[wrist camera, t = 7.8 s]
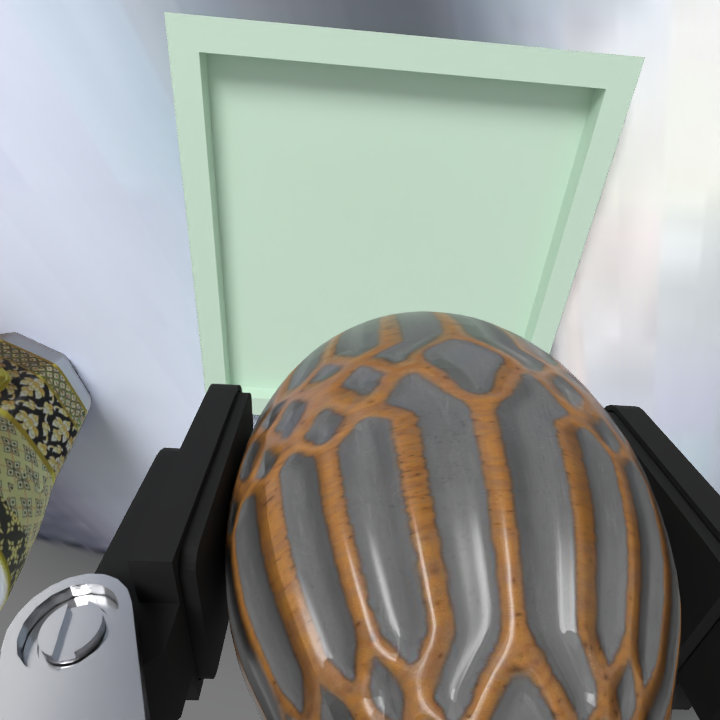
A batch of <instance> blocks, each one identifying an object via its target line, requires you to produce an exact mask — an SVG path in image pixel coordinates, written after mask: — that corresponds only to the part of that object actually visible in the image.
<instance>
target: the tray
mask: <svg viewBox="0 0 720 720" xmlns="http://www.w3.org/2000/svg"><path fill="white" fill-rule="evenodd" d="M164 14H165V23H166V32H167V41H168V51H169V60H170V69H171V78H172V87H173V97H174V106H175V115H176V124H177V133H178V143H179V152H180V161H181V170H182V179H183V189H184V198H185V207H186V216H187V226H188V235H189V244H190V253H191V262H192V272H193V281H194V290H195V299H196V308H197V318H198V327H199V336H200V345H201V354H202V364H203V373H204V382H205V391H206V393H207V390H208V388H209V386H210V385H211V384H230V385H240V386H241V388H242V392H244V393H251V397H252V414H253V415H261V413H262V411H263V410H264V408H265V406H266V405H267V403H268V402H269V400H270V399H271V397H272V396H273V395H274V393H275V392H276V390H277V389H278V387H279V386H280V385H281V383H282V382H283V381H284V380H285V379H286V377H287V376H288V375H289V374H290V373H291V372H292V371H293V370H294V369H295V368H296V367H297V366H298V365H299V364H300V363H301V362H302V361H303V360H304V359H305V358H306V357H307V356H308V355H309V354H310V353H312V352H313V351H314V350H315V349H317V348H318V347H319V346H321V345H322V344H324V343H325V342H327V341H328V340H330V339H331V338H333V337H335V336H336V335H338V334H340V333H342V332H344V331H346V330H348V329H350V328H352V327H354V326H356V325H358V324H361V323H364V322H366V321H369V320H372V319H375V318H379V317H382V316H387V315H392V314H398V313H404V312H417V311H431V312H444V313H452V314H459V315H464V316H469V317H473V318H477V319H480V320H483V321H486V322H489V323H492V324H494V325H497V326H499V327H501V328H504V329H506V330H509V331H511V332H513V333H515V334H517V335H519V336H521V337H523V338H524V339H526V340H528V341H529V342H531V343H533V344H534V345H536V346H537V347H539V348H540V349H542V350H543V351H545V352H546V353H548V354H550V351H551V347H552V344H553V341H554V338H555V335H556V332H557V329H558V326H559V323H560V320H561V316H562V313H563V310H564V307H565V304H566V301H567V298H568V295H569V292H570V288H571V285H572V282H573V279H574V276H575V273H576V270H577V267H578V264H579V261H580V257H581V254H582V251H583V248H584V245H585V242H586V239H587V236H588V233H589V230H590V226H591V223H592V220H593V217H594V214H595V211H596V208H597V205H598V202H599V199H600V195H601V192H602V189H603V186H604V183H605V180H606V177H607V174H608V171H609V167H610V164H611V161H612V158H613V155H614V152H615V149H616V146H617V143H618V140H619V136H620V133H621V130H622V127H623V124H624V121H625V118H626V115H627V112H628V109H629V105H630V102H631V99H632V96H633V93H634V90H635V87H636V84H637V81H638V78H639V74H640V71H641V68H642V65H643V62H644V59H645V57H635V56H624V55H613V54H603V53H592V52H582V51H571V50H560V49H550V48H539V47H529V46H518V45H507V44H497V43H486V42H476V41H465V40H454V39H444V38H433V37H422V36H412V35H401V34H391V33H380V32H369V31H359V30H348V29H338V28H327V27H316V26H306V25H295V24H285V23H274V22H263V21H253V20H242V19H231V18H221V17H210V16H200V15H189V14H178V13H168V12H164Z"/></svg>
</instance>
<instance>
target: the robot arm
mask: <svg viewBox="0 0 720 720" xmlns="http://www.w3.org/2000/svg"><path fill="white" fill-rule="evenodd" d="M604 409H605V410H606V412H607V413H608V414H609V415H610V417H611V418H612V420H613V421H614V422H615V424H616V425H617V427H618V428H619V429H620V431H621V432H622V434H623V435H624V437H625V438H626V439H627V441H628V442H629V444H630V446H631V448H632V449H633V451H634V453H635V455H636V457H637V459H638V461H639V462H640V464H641V466H642V468H643V470H644V472H645V474H646V476H647V479H648V481H649V484H650V486H651V489H652V491H653V494H654V496H655V499H656V501H657V504H658V506H659V509H660V512H661V515H662V518H663V521H664V525H665V528H666V531H667V534H668V538H669V542H670V546H671V550H672V554H673V559H674V563H675V567H676V571H677V578H678V586H679V594H680V602H681V646H680V655H679V665H678V674H677V681H676V688H675V695H674V703H673V709H685V710H689V709H690V708H691V706H692V707H693V708H694V710H695V712H696V714H697V716H698V717H699V719H700V720H720V495H719V494H718V493H717V492H716V491H715V490H714V489H713V487H712V486H711V485H710V484H709V483H708V482H707V481H706V480H705V479H704V477H703V476H702V475H701V474H700V473H699V472H698V471H697V470H696V469H695V467H694V466H693V465H692V464H691V463H690V462H689V461H688V460H687V459H686V457H685V456H684V455H683V454H682V453H681V452H680V451H679V450H678V448H677V447H676V446H675V445H674V444H673V443H672V442H671V441H670V440H669V438H668V437H667V436H666V435H665V434H664V433H663V432H662V431H661V430H660V428H659V427H658V426H657V425H656V424H655V423H654V422H653V421H652V420H651V418H650V417H649V416H648V415H647V414H646V413H645V412H644V411H643V410H642V409H641V408H640V407H636V406H619V405H609V406H606V407H605V408H604ZM252 432H253V415H252V397H251V393H244V392H242V388H241V386H240V385H230V384H211V385H210V386H209V388H208V390H207V393H206V395H205V397H204V399H203V401H202V403H201V405H200V407H199V410H198V412H197V414H196V416H195V418H194V420H193V422H192V425H191V427H190V429H189V431H188V433H187V435H186V437H185V439H184V442H183V444H182V446H181V448H180V449H178V448H163V449H162V450H160V452H159V453H158V455H157V456H156V458H155V460H154V462H153V463H152V465H151V467H150V469H149V471H148V473H147V475H146V477H145V479H144V481H143V483H142V484H141V486H140V488H139V490H138V492H137V494H136V496H135V498H134V500H133V502H132V503H131V505H130V507H129V509H128V511H127V513H126V515H125V517H124V519H123V521H122V523H121V524H120V526H119V528H118V530H117V532H116V534H115V536H114V538H113V540H112V542H111V543H110V545H109V547H108V549H107V551H106V553H105V555H104V557H103V559H102V561H101V563H100V564H99V566H98V568H97V570H96V572H95V574H84V575H79V576H75V577H70V578H67V579H65V580H63V581H61V582H58V583H56V584H54V585H52V586H50V587H48V588H47V589H45V590H44V591H43V592H41V593H40V594H38V595H37V596H35V597H34V598H33V599H32V600H31V601H30V602H29V603H28V604H27V605H26V606H25V607H24V608H23V609H22V610H21V611H20V612H19V613H18V614H17V615H16V617H15V618H14V620H13V622H12V623H11V625H10V626H9V628H8V630H7V631H6V634H5V638H4V641H3V644H2V648H1V652H0V720H178V719H179V718H180V717H181V715H182V711H183V707H184V703H185V700H198V699H199V696H200V692H201V688H202V684H203V679H214V677H215V675H216V672H217V669H218V665H219V661H220V656H221V652H222V647H223V643H224V639H225V634H226V630H227V625H228V621H229V614H228V606H227V595H226V580H225V537H226V527H227V519H228V510H229V504H230V500H231V496H232V491H233V487H234V483H235V479H236V475H237V472H238V469H239V466H240V463H241V460H242V457H243V454H244V451H245V449H246V446H247V443H248V441H249V438H250V436H251V434H252Z"/></svg>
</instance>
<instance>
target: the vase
mask: <svg viewBox="0 0 720 720" xmlns="http://www.w3.org/2000/svg"><path fill="white" fill-rule="evenodd" d="M225 580H226V595H227V606H228V614H229V620H230V628H231V634H232V638H233V643H234V647H235V651H236V655H237V660H238V664H239V667H240V669H241V672H242V675H243V678H244V681H245V684H246V686H247V689H248V692H249V694H250V697H251V699H252V701H253V703H254V705H255V707H256V710H257V712H258V714H259V716H260V718H261V720H671V716H672V709H673V703H674V695H675V688H676V681H677V674H678V665H679V655H680V646H681V602H680V594H679V586H678V578H677V571H676V567H675V563H674V559H673V554H672V550H671V546H670V542H669V538H668V534H667V531H666V528H665V525H664V521H663V518H662V515H661V512H660V509H659V506H658V504H657V501H656V499H655V496H654V494H653V491H652V489H651V486H650V484H649V481H648V479H647V476H646V474H645V472H644V470H643V468H642V466H641V464H640V462H639V461H638V459H637V457H636V455H635V453H634V451H633V449H632V448H631V446H630V444H629V442H628V441H627V439H626V438H625V437H624V435H623V434H622V432H621V431H620V429H619V428H618V427H617V425H616V424H615V422H614V421H613V420H612V418H611V417H610V415H609V414H608V413H607V412H606V410H605V409H604V408H603V407H602V406H601V404H600V403H599V402H598V401H597V400H596V399H595V397H594V396H593V395H592V394H591V393H590V392H589V391H588V390H587V388H586V387H585V386H584V385H583V384H582V383H581V382H580V381H579V380H578V379H577V378H576V377H575V376H574V375H573V374H572V373H571V372H570V371H569V370H568V369H566V368H565V367H564V366H563V365H562V364H561V363H560V362H559V361H557V360H556V359H555V358H553V357H552V356H551V355H549V354H548V353H546V352H545V351H543V350H542V349H540V348H539V347H537V346H536V345H534V344H533V343H531V342H529V341H528V340H526V339H524V338H523V337H521V336H519V335H517V334H515V333H513V332H511V331H509V330H506V329H504V328H501V327H499V326H497V325H494V324H492V323H489V322H486V321H483V320H480V319H477V318H473V317H469V316H464V315H459V314H452V313H444V312H431V311H417V312H404V313H398V314H392V315H387V316H382V317H379V318H375V319H372V320H369V321H366V322H364V323H361V324H358V325H356V326H354V327H352V328H350V329H348V330H346V331H344V332H342V333H340V334H338V335H336V336H335V337H333V338H331V339H330V340H328V341H327V342H325V343H324V344H322V345H321V346H319V347H318V348H317V349H315V350H314V351H313V352H312V353H310V354H309V355H308V356H307V357H306V358H305V359H304V360H303V361H302V362H301V363H300V364H299V365H298V366H297V367H296V368H295V369H294V370H293V371H292V372H291V373H290V374H289V375H288V376H287V377H286V379H285V380H284V381H283V382H282V383H281V385H280V386H279V387H278V389H277V390H276V392H275V393H274V395H273V396H272V397H271V399H270V400H269V402H268V403H267V405H266V406H265V408H264V410H263V411H262V413H261V415H260V417H259V419H258V421H257V423H256V425H255V427H254V429H253V432H252V434H251V436H250V438H249V441H248V443H247V446H246V449H245V451H244V454H243V457H242V460H241V463H240V466H239V469H238V472H237V475H236V479H235V483H234V487H233V491H232V496H231V500H230V504H229V510H228V519H227V527H226V537H225Z"/></svg>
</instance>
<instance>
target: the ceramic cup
mask: <svg viewBox="0 0 720 720" xmlns="http://www.w3.org/2000/svg"><path fill="white" fill-rule="evenodd" d="M90 406H91V396H90V395H89V393H88V391H87V389H86V388H85V386H84V385H83V383H82V381H81V380H80V378H79V376H78V375H77V373H76V371H75V370H74V368H73V367H72V365H71V363H70V362H69V360H68V359H67V357H66V356H65V355H64V354H62V353H60V352H57V351H55V350H53V349H51V348H49V347H47V346H44V345H42V344H40V343H38V342H36V341H33V340H31V339H29V338H27V337H25V336H23V335H20V334H18V333H5V334H0V610H1V609H2V607H3V605H4V604H5V602H6V600H7V598H8V596H9V594H10V592H11V590H12V588H13V586H14V584H15V582H16V580H17V578H18V576H19V574H20V572H21V570H22V568H23V566H24V563H25V561H26V559H27V556H28V554H29V552H30V550H31V547H32V545H33V543H34V540H35V538H36V536H37V534H38V531H39V529H40V526H41V523H42V520H43V517H44V514H45V511H46V508H47V505H48V501H49V498H50V495H51V491H52V488H53V485H54V483H55V481H56V479H57V477H58V474H59V472H60V470H61V468H62V466H63V464H64V462H65V460H66V458H67V456H68V454H69V452H70V450H71V448H72V446H73V444H74V442H75V440H76V438H77V435H78V433H79V431H80V429H81V426H82V424H83V422H84V420H85V417H86V415H87V413H88V411H89V408H90Z"/></svg>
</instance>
